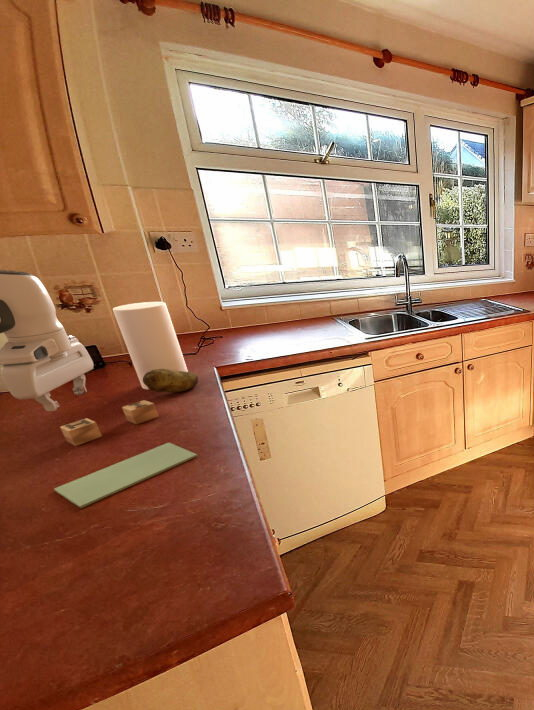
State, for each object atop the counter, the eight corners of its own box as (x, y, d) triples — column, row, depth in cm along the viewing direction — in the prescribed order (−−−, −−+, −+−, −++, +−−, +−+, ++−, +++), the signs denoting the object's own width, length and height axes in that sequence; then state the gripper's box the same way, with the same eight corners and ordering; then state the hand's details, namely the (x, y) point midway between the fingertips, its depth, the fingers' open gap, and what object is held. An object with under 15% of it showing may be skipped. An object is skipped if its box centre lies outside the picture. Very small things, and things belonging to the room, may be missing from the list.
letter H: (75, 446, 99) (68, 430, 98) (66, 441, 101) (59, 426, 100) (102, 436, 103) (95, 421, 102) (93, 432, 105) (86, 417, 104)
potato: (202, 390, 130) (194, 365, 127) (149, 401, 122) (139, 376, 119) (199, 382, 136) (192, 359, 133) (148, 393, 128) (139, 368, 125)
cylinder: (189, 372, 145) (165, 299, 136) (190, 383, 136) (164, 305, 126) (143, 381, 138) (114, 305, 129) (140, 392, 129) (109, 311, 119)
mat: (80, 508, 78) (79, 506, 77) (54, 490, 83) (53, 488, 83) (197, 456, 94) (197, 454, 94) (169, 444, 99) (168, 442, 99)
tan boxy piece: (136, 424, 109) (130, 410, 107) (127, 420, 111) (121, 406, 110) (158, 416, 113) (153, 402, 111) (149, 413, 115) (144, 399, 114)
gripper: (57, 334, 102) (81, 386, 107) (-16, 360, 84) (17, 422, 89) (89, 331, 103) (110, 383, 109) (23, 357, 85) (53, 418, 90)
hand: (68, 401), depth 99 cm, fingers open, 8 cm apart
